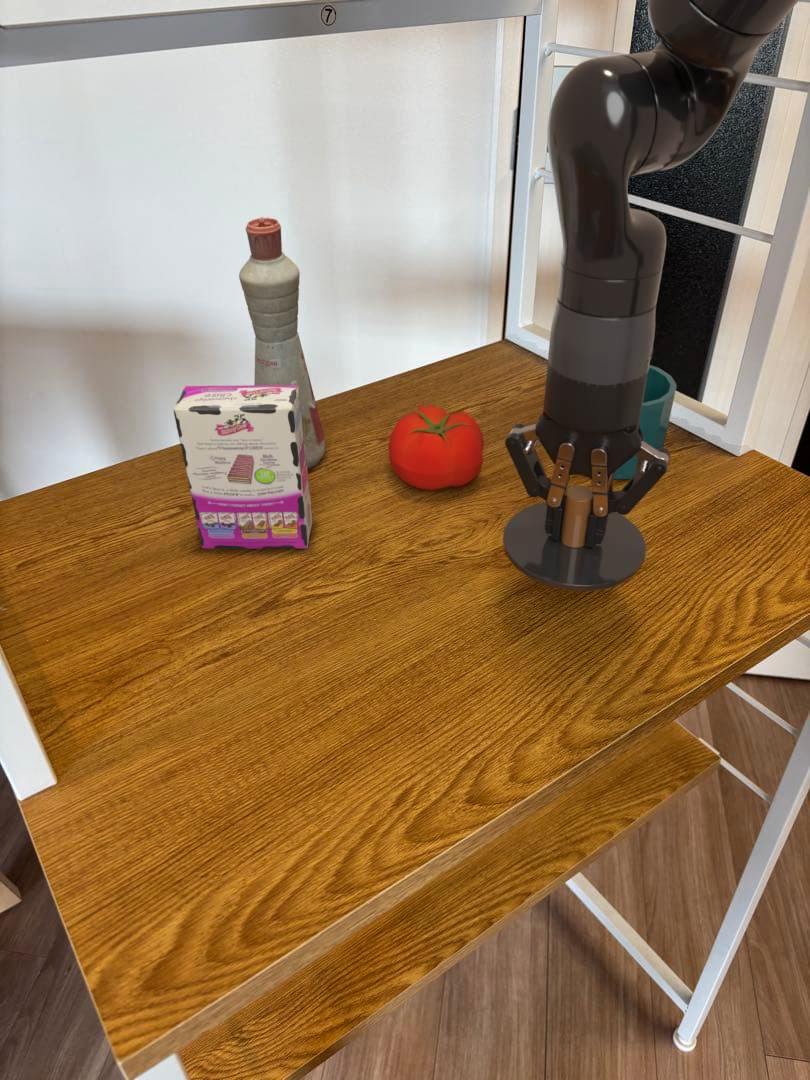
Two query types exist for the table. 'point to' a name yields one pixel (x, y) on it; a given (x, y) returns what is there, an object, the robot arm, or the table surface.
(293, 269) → the bottle
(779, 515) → the table surface
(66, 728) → the table surface
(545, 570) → the lid
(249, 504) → the candy bar box
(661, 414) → the pot
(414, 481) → the tomato
